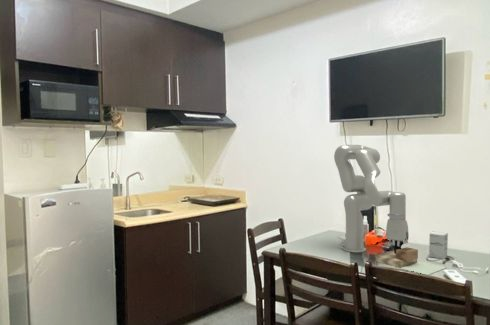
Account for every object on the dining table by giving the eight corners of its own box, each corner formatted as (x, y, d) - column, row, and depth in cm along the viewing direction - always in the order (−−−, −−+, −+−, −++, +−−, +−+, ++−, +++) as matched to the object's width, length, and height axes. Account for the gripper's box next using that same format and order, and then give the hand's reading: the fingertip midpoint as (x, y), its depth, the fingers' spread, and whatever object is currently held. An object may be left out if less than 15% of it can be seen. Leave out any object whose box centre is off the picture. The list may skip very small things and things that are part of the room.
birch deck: (376, 261, 196) (376, 255, 196) (391, 256, 204) (391, 251, 204) (401, 267, 185) (401, 261, 185) (417, 262, 193) (417, 256, 193)
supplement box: (428, 257, 203) (428, 233, 203) (432, 254, 209) (433, 230, 208) (444, 259, 198) (444, 235, 198) (447, 256, 204) (448, 232, 204)
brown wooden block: (395, 258, 190) (395, 249, 190) (406, 255, 195) (406, 247, 195) (406, 261, 185) (407, 252, 185) (417, 258, 190) (417, 249, 190)
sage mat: (400, 268, 183) (400, 268, 183) (420, 262, 194) (420, 261, 194) (426, 275, 173) (426, 274, 173) (446, 268, 183) (446, 267, 183)
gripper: (379, 216, 197) (380, 251, 198) (407, 219, 185) (407, 258, 186) (388, 214, 202) (388, 249, 202) (415, 218, 190) (415, 255, 190)
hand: (397, 253), depth 194 cm, fingers closed
